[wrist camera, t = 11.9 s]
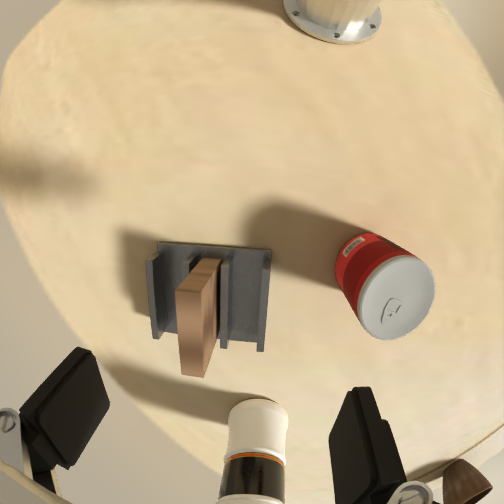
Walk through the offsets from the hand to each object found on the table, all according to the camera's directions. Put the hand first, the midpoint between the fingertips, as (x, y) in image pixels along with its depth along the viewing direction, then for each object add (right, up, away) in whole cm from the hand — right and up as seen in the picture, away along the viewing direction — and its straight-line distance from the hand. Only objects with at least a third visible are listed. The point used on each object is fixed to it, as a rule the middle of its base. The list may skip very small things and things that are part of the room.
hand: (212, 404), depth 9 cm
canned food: (+15, +4, +23) cm, 28 cm away
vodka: (+2, -20, +31) cm, 37 cm away
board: (-3, 0, +25) cm, 25 cm away
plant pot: (+59, -56, +36) cm, 89 cm away
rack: (-3, 0, +25) cm, 26 cm away
